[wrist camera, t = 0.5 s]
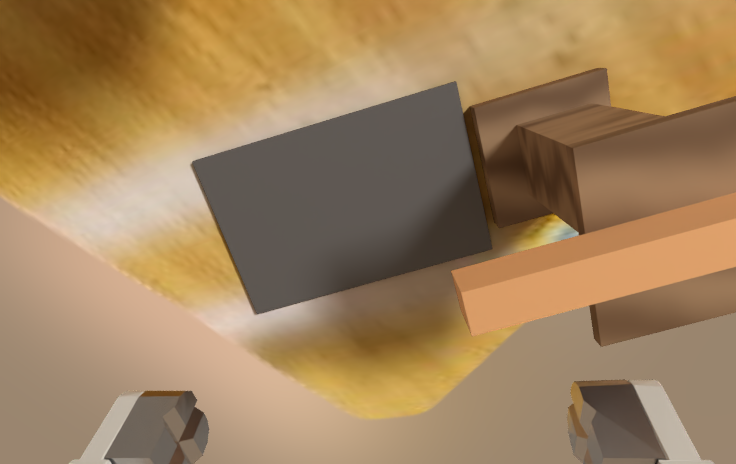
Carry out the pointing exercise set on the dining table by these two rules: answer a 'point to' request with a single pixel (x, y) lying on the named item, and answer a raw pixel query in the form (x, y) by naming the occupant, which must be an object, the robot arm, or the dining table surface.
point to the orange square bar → (599, 266)
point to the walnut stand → (610, 181)
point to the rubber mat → (349, 199)
